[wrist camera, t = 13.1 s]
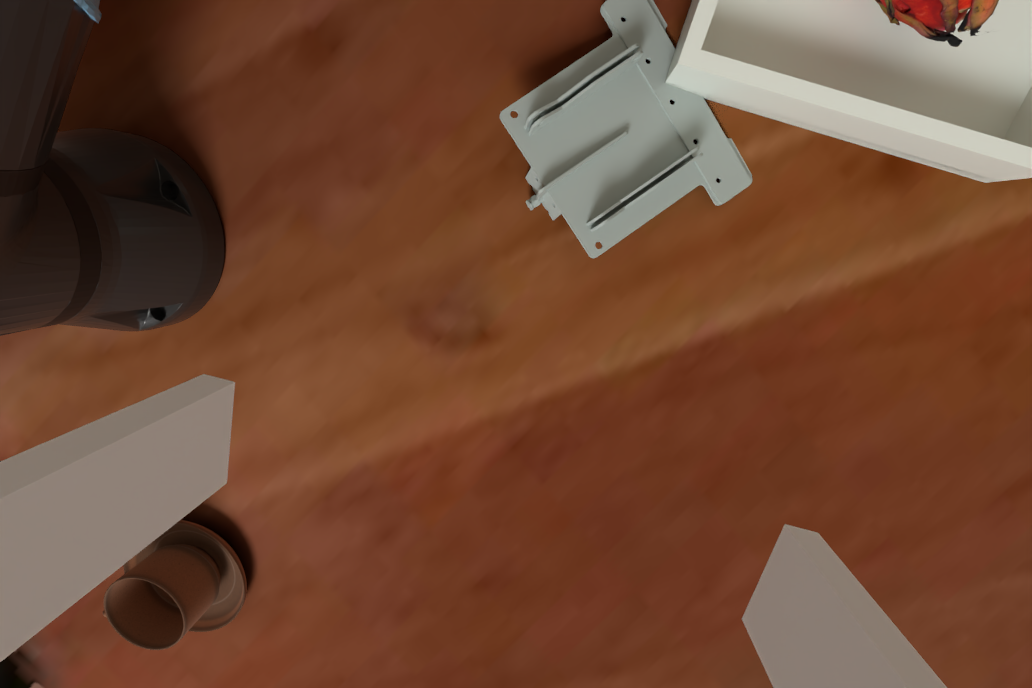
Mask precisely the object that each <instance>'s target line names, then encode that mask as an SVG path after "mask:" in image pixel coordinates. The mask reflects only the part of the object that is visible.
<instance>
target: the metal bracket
mask: <svg viewBox="0 0 1032 688" xmlns="http://www.w3.org/2000/svg"><path fill="white" fill-rule="evenodd" d="M600 12H601V14H602V16H603V18H604V19H605V21H606V23H607V24H608V26H609V28H610V29H611V31H612V37H611V38H610V39H609V40H607V41H606V42H604V43H603V44H601V45H600V46H598V47H597V48H595V49H594V50H592V51H591V52H589V53H588V54H586V55H585V56H583V57H582V58H580V59H579V60H577V61H576V62H574V63H573V64H571V65H570V66H568V67H567V68H565V69H564V70H562V71H561V72H559V73H558V74H556V75H555V76H553V77H552V78H550V79H549V80H547V81H546V82H544V83H543V84H542V85H540V86H539V87H537V88H536V89H534V90H533V91H531V92H530V93H528V94H527V95H525V96H524V97H522V98H521V99H519V100H518V101H516V102H515V103H513V104H512V105H510V106H509V107H507V108H506V109H504V110H503V111H502V112H501V113H500V120H501V121H502V123H503V124H504V126H505V128H506V129H507V131H508V132H509V134H510V135H511V137H512V138H513V140H514V141H515V143H516V144H517V146H518V148H519V149H520V151H521V152H522V154H523V155H524V157H525V158H526V160H527V161H528V163H529V164H530V166H531V169H530V170H529V172H528V174H527V176H526V180H527V181H528V183H529V184H530V185H531V186H532V187H533V191H534V192H535V194H536V195H534V196H532V197H531V198H530V199H529V200H526V204H527V206H528V207H529V209H530V210H533V208H534V207H535V208H536V207H537V206H538V205H540V203H542V204H543V206H544V207H545V209H546V210H548V212H549V215H550V217H551V218H552V220H554V219H556V218H557V217H558V216H559V215H560V214H562V215H563V217H564V218H565V220H566V221H567V223H568V224H569V226H570V228H571V229H572V231H573V232H574V234H575V235H576V237H577V238H578V240H579V241H580V243H581V244H582V246H583V248H584V249H585V251H586V252H587V254H588V255H589V256H590V257H591V258H596V257H598V256H599V255H601V254H602V253H604V252H605V251H606V250H608V249H609V248H611V247H612V246H614V245H615V244H616V243H618V242H619V241H621V240H622V239H623V238H625V237H626V236H628V235H629V234H631V233H632V232H633V231H635V230H636V229H638V228H639V227H640V226H642V225H643V224H645V223H646V222H648V221H649V220H650V219H652V218H653V217H655V216H656V215H657V214H659V213H660V212H662V211H663V210H665V209H666V208H667V207H669V206H670V205H672V204H673V203H674V202H676V201H677V200H679V199H680V198H682V197H683V196H684V195H686V194H687V193H689V192H690V191H691V190H693V189H694V188H696V187H697V186H699V185H702V186H704V187H705V189H706V191H707V192H708V194H709V196H710V198H711V199H712V201H713V203H714V204H715V205H717V206H719V205H722V204H723V203H725V202H727V201H728V200H730V199H731V198H732V197H734V196H735V195H737V194H738V193H739V192H741V191H742V190H744V189H745V188H746V187H748V186H749V185H750V184H751V183H752V174H751V172H750V171H749V169H748V167H747V165H746V164H745V162H744V160H743V158H742V156H741V155H740V153H739V151H738V149H737V148H736V146H735V144H734V142H733V141H732V139H731V138H730V139H729V138H727V137H726V136H725V134H724V132H723V131H722V129H721V127H720V125H719V124H718V122H717V120H716V119H715V117H714V115H713V113H712V112H711V110H710V108H709V106H708V105H707V103H706V101H705V99H704V98H703V97H702V96H699V95H697V94H694V93H691V92H688V91H686V90H683V89H680V88H678V87H675V86H672V85H670V84H667V83H665V80H666V77H667V74H668V71H669V68H670V65H671V62H672V59H673V56H674V53H675V50H676V49H675V48H674V46H673V44H672V42H671V41H670V39H669V37H668V35H667V34H666V31H665V29H666V27H667V24H666V22H665V20H664V19H663V17H662V15H661V13H660V11H659V10H658V8H657V6H656V4H655V3H654V1H653V0H606V1H605V2H604V4H603V5H602V6H601V9H600ZM622 17H623V18H625V20H626V21H625V22H622V21H621V18H622ZM646 59H649V60H650V64H647V63H646ZM670 100H673V101H674V105H672V104H670ZM512 111H516V112H517V113H518V117H517V118H512V117H511V115H510V113H511V112H512ZM694 139H695V140H697V144H694V143H693V140H694ZM717 178H719V179H720V182H719V183H717V182H716V179H717ZM596 242H600V243H601V244H602V248H601V249H597V248H596V247H595V243H596Z"/></svg>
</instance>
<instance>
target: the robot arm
mask: <svg viewBox="0 0 1032 688" xmlns="http://www.w3.org/2000/svg"><path fill="white" fill-rule="evenodd" d="M99 4H100V0H0V336H1V335H5V334H10V333H15V332H20V331H25V330H30V329H35V328H40V327H45V326H51V325H56V324H62V325H72V326H81V327H91V328H101V329H110V330H120V331H144V330H151V329H155V328H159V327H164V326H168V325H172V324H175V323H178V322H181V321H183V320H185V319H187V318H189V317H191V316H192V315H194V314H195V313H197V312H198V311H199V310H200V309H201V308H202V307H203V306H204V305H205V304H206V303H207V302H208V300H209V299H210V298H211V296H212V295H213V293H214V291H215V289H216V287H217V285H218V283H219V280H220V277H221V273H222V269H223V263H224V236H223V230H222V225H221V221H220V217H219V214H218V211H217V209H216V206H215V204H214V202H213V199H212V197H211V195H210V194H209V192H208V190H207V188H206V187H205V185H204V184H203V182H202V181H201V179H200V178H199V177H198V175H197V174H196V173H195V172H194V170H193V169H192V168H191V167H190V166H189V165H188V164H187V163H186V162H185V161H184V160H183V159H181V158H180V157H179V156H178V155H177V154H175V153H174V152H173V151H171V150H170V149H168V148H167V147H165V146H163V145H161V144H159V143H158V142H155V141H153V140H151V139H148V138H145V137H142V136H139V135H134V134H130V133H125V132H120V131H115V130H110V129H102V128H83V129H75V130H69V131H62V132H57V131H58V128H59V124H60V121H61V118H62V115H63V112H64V109H65V106H66V103H67V100H68V97H69V94H70V91H71V88H72V85H73V82H74V79H75V75H76V72H77V69H78V66H79V64H80V61H81V58H82V55H83V52H84V50H85V47H86V44H87V41H88V39H89V36H90V33H91V30H92V27H93V25H94V22H96V23H99V21H100V19H101V12H100V10H99V9H98V8H99ZM234 388H235V382H232V381H229V380H225V379H221V378H217V377H213V376H209V375H205V374H203V375H201V376H198V377H196V378H194V379H191V380H189V381H187V382H184V383H182V384H180V385H177V386H175V387H173V388H170V389H168V390H166V391H163V392H161V393H159V394H157V395H154V396H152V397H150V398H147V399H145V400H143V401H140V402H138V403H136V404H133V405H131V406H129V407H126V408H124V409H122V410H119V411H117V412H115V413H112V414H110V415H108V416H105V417H103V418H101V419H98V420H96V421H94V422H92V423H89V424H87V425H85V426H82V427H80V428H78V429H75V430H73V431H71V432H68V433H66V434H64V435H61V436H59V437H57V438H54V439H52V440H50V441H47V442H45V443H43V444H40V445H38V446H36V447H33V448H31V449H29V450H26V451H24V452H22V453H20V454H17V455H15V456H13V457H10V458H8V459H6V460H3V461H0V662H1V661H2V660H3V659H5V658H6V657H7V656H9V655H10V654H11V653H12V652H14V651H15V650H16V649H17V648H19V647H20V646H21V645H22V644H24V643H25V642H26V641H28V640H29V639H30V638H31V637H33V636H34V635H35V634H36V633H38V632H39V631H40V630H41V629H43V628H44V627H45V626H47V625H48V624H49V623H50V622H52V621H53V620H54V619H55V618H57V617H58V616H59V615H60V614H62V613H63V612H64V611H66V610H67V609H68V608H69V607H71V606H72V605H73V604H74V603H76V602H77V601H78V600H79V599H81V598H82V597H83V596H85V595H86V594H87V593H88V592H90V591H91V590H92V589H93V588H95V587H96V586H97V585H98V584H100V583H101V582H102V581H104V580H105V579H106V578H107V577H109V576H110V575H111V574H112V573H114V572H115V571H116V570H117V569H119V568H120V567H121V566H123V565H124V564H125V563H126V562H128V561H129V560H130V559H131V558H133V557H134V556H135V555H136V554H138V553H139V552H140V551H142V550H143V549H144V548H145V547H147V546H148V545H149V544H150V543H152V542H153V541H154V540H155V539H157V538H158V537H159V536H161V535H162V534H163V533H164V532H166V531H167V530H168V529H169V528H171V527H172V526H173V525H174V524H176V523H177V522H178V521H180V520H181V519H182V518H183V517H185V516H186V515H187V514H188V513H190V512H191V511H192V510H193V509H195V508H196V507H197V506H199V505H200V504H201V503H202V502H204V501H205V500H206V499H207V498H209V497H210V496H211V495H212V494H214V493H215V492H216V491H218V490H219V489H220V488H221V487H223V486H224V485H225V484H226V483H227V475H228V462H229V450H230V437H231V425H232V413H233V400H234ZM742 620H743V623H744V625H745V627H746V629H747V631H748V633H749V636H750V638H751V640H752V642H753V644H754V646H755V649H756V651H757V653H758V655H759V657H760V659H761V662H762V664H763V666H764V668H765V670H766V672H767V675H768V677H769V679H770V681H771V683H772V686H773V688H947V687H946V686H945V685H944V683H943V682H942V681H941V680H940V679H939V677H938V676H937V675H936V674H935V673H934V671H933V670H932V669H931V668H930V667H929V665H928V664H927V663H926V662H925V661H924V659H923V658H922V657H921V656H920V655H919V653H918V652H917V651H916V650H915V649H914V647H913V646H912V645H911V644H910V643H909V641H908V640H907V639H906V638H905V637H904V635H903V634H902V633H901V632H900V631H899V629H898V628H897V627H896V626H895V625H894V623H893V622H892V621H891V620H890V619H889V617H888V616H887V615H886V614H885V613H884V611H883V610H882V609H881V608H880V607H879V605H878V604H877V603H876V602H875V601H874V599H873V598H872V597H871V596H870V595H869V593H868V592H867V591H866V590H865V589H864V587H863V586H862V585H861V584H860V583H859V581H858V580H857V579H856V578H855V577H854V575H853V574H852V573H851V572H850V571H849V569H848V568H847V567H846V566H845V565H844V563H843V562H842V561H841V560H840V559H839V557H838V556H837V555H836V554H835V553H834V551H833V550H832V549H831V548H830V547H829V545H828V544H827V543H826V542H825V541H824V539H823V538H822V537H821V536H820V535H819V533H817V532H813V531H809V530H805V529H802V528H798V527H794V526H790V525H786V524H785V525H784V527H783V529H782V531H781V534H780V536H779V538H778V540H777V542H776V545H775V547H774V549H773V551H772V554H771V556H770V558H769V560H768V562H767V565H766V567H765V569H764V571H763V573H762V576H761V578H760V580H759V582H758V584H757V587H756V589H755V591H754V593H753V595H752V598H751V600H750V602H749V604H748V606H747V609H746V611H745V613H744V615H743V617H742Z"/></svg>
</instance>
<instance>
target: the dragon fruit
mask: <svg viewBox="0 0 1032 688" xmlns="http://www.w3.org/2000/svg"><path fill="white" fill-rule="evenodd" d="M875 1H876V2H877V3H878V4H879V5H880V7H881V9H882V11H883V12H884V13H885V14H886V15H887V16H888V18H889V21H890V23H895V24H896V25H900V23H899V21H900V22H902V23H905V24H907V25H909V26H910V27H912V28H914V29H915V30H916V31H917V32H918V33H919V34H920V35H922V36H924V37H925V38H927V39H931V40H935V41H941V42H945V41H948V43H949V45H950V46H953V47H958V46H959V45H960V44H961V43H962V40H960V39H959V38H958V37H956V36H954V35H953V34H951V33H952V32H953V33H954V31H955V29H956V27H955V25H956V24H958V23H959V22H960V21H962V20H963V21H962V23H961V25H960V26H959V28H958V29H957V30H958V32H965V31H969V30H970V34H971V35H970V36H977V35H975V33H978V32H980V31H978V30H979V29H980V28H981V27H982V25H983V24H984V23H985V22H986V21H987V20H988V18H989V17H990V16H991V15H992V14H993V13H994V10H995V8H996V6H997V4H998V1H999V0H875ZM968 9H970V10H969V11H968ZM967 11H968V13H967ZM898 20H899V21H898ZM945 30H946V32H945ZM987 33H988V32H987Z"/></svg>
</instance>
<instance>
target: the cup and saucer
mask: <svg viewBox="0 0 1032 688" xmlns="http://www.w3.org/2000/svg"><path fill="white" fill-rule="evenodd" d="M123 566H124V573H125V574H124V575H123V576H122V577H120V578H119V579H118V580H116V581H115V582H114V583H113V584H111V585H110V587H109V588H108V589H107V591H106V593H105V596H104V611H103V615H104V616H105V617H107V619H108V621H109V622H110V624H111V625H112V627H113V628H114V629H115V630H116V632H117V633H118V634H119V635H121V636H122V637H123V638H124V639H126V640H127V641H129V642H130V643H132V644H134V645H136V646H139V647H141V648H145V649H150V650H162V649H167V648H170V647H172V646H173V645H175V644H176V643H177V642H178V641H179V640H180V639H181V638H182V637H183V636H184V635H185V634H186V633H187V632H188V631H194V632H206V631H212V630H216V629H219V628H221V627H223V626H225V625H227V624H228V623H230V622H231V621H232V620H233V619H234V618H235V617H236V616H237V615H238V613H239V611H240V610H241V608H242V606H243V604H244V601H245V598H246V593H247V582H246V576H245V573H244V569H243V566H242V564H241V562H240V560H239V558H238V556H237V554H236V553H235V551H234V550H233V549H232V547H231V546H230V545H229V544H228V543H227V542H226V541H225V540H224V539H223V538H222V537H220V536H219V535H218V534H216V533H215V532H213V531H212V530H210V529H208V528H206V527H204V526H201V525H199V524H196V523H193V522H189V521H184V520H180V521H178V522H177V523H176V524H174V525H173V526H172V527H171V528H169V529H168V530H167V531H166V532H164V533H163V534H162V535H161V536H159V537H158V538H157V539H155V540H154V541H153V542H152V543H150V544H149V545H148V546H147V547H145V548H144V549H143V550H142V551H140V552H139V553H138V554H136V555H135V556H134V557H133V558H131V559H130V560H129V561H128V562H126V563H125V564H124V565H123Z"/></svg>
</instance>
